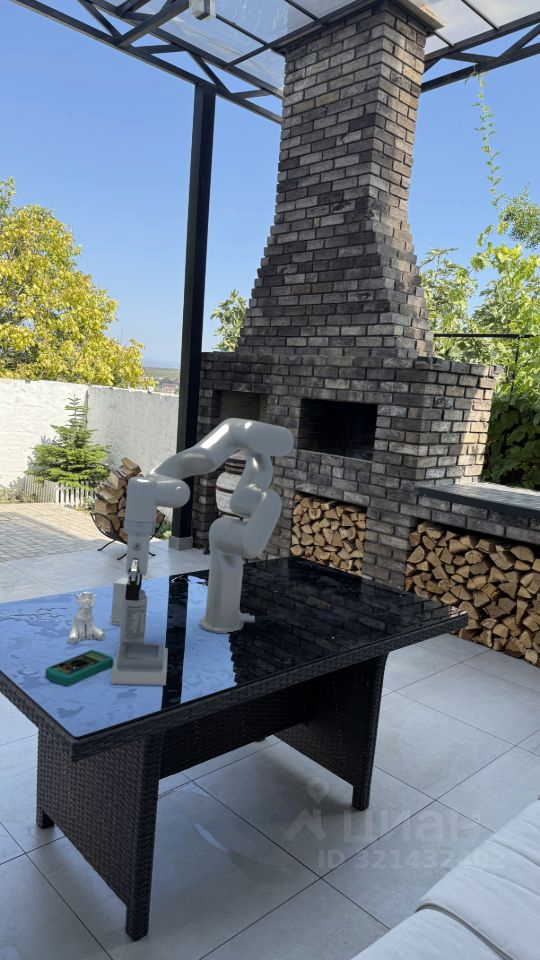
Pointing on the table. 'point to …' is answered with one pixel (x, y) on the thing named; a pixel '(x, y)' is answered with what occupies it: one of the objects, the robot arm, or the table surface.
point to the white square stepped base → (140, 664)
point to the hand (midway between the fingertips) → (133, 594)
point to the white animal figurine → (84, 620)
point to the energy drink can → (133, 619)
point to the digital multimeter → (78, 667)
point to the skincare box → (118, 600)
